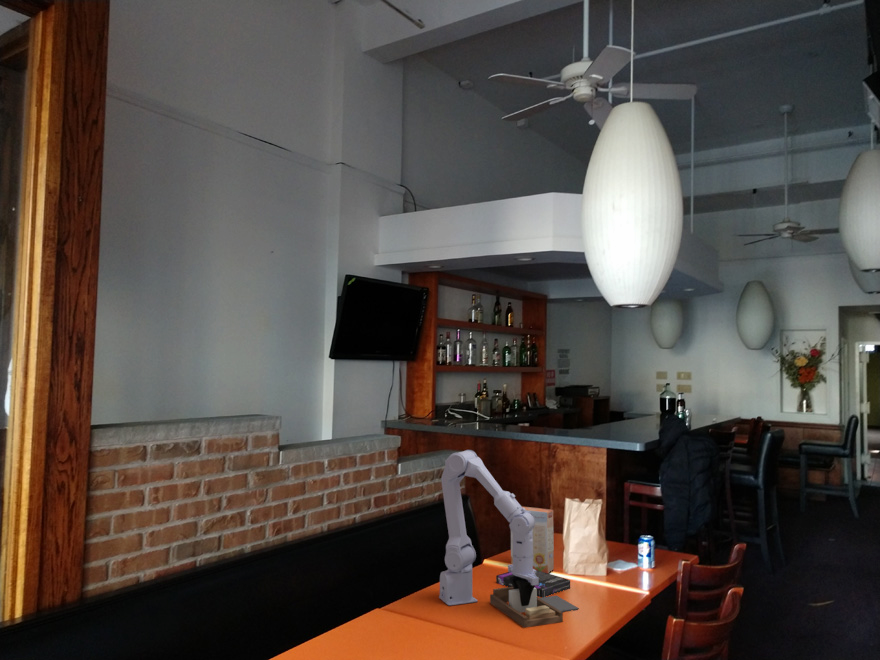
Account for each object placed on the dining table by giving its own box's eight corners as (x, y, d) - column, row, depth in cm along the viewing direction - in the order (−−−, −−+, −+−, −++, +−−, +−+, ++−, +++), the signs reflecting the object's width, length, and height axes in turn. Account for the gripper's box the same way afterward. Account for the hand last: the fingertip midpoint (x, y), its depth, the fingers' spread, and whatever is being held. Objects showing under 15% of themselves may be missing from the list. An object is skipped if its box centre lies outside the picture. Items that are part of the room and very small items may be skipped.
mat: (551, 613, 189) (551, 612, 189) (530, 600, 200) (530, 599, 201) (578, 609, 193) (578, 608, 193) (556, 596, 204) (556, 595, 204)
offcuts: (527, 625, 180) (527, 611, 180) (522, 622, 183) (522, 608, 183) (556, 621, 183) (556, 607, 184) (551, 618, 186) (551, 604, 186)
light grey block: (512, 613, 189) (512, 592, 190) (508, 611, 191) (508, 589, 191) (536, 610, 192) (536, 588, 193) (533, 608, 194) (533, 586, 194)
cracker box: (554, 570, 231) (554, 509, 233) (547, 575, 226) (547, 512, 228) (517, 564, 239) (517, 504, 240) (510, 568, 234) (510, 507, 235)
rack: (524, 627, 179) (524, 612, 179) (490, 603, 198) (490, 589, 198) (562, 621, 183) (562, 606, 183) (525, 598, 202) (525, 584, 202)
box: (495, 586, 217) (542, 600, 203) (495, 574, 218) (542, 588, 203) (524, 576, 226) (571, 589, 212) (524, 566, 227) (570, 578, 212)
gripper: (547, 560, 187) (548, 610, 186) (522, 548, 201) (522, 594, 200) (525, 563, 185) (525, 613, 184) (501, 550, 198) (501, 597, 197)
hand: (522, 603), depth 192 cm, fingers closed on light grey block, 2 cm apart
